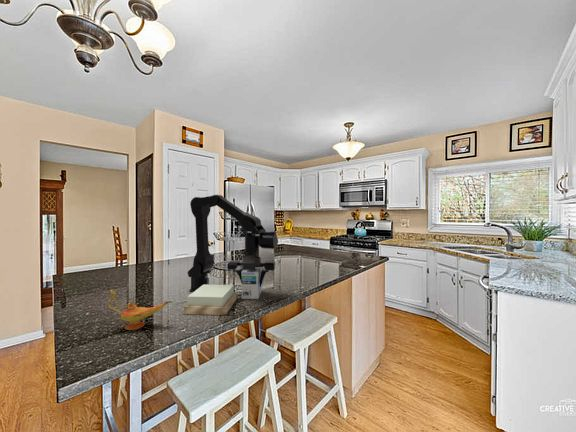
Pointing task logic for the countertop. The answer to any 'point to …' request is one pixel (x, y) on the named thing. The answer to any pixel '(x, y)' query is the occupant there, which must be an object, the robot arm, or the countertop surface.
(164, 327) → the countertop surface
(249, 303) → the countertop surface
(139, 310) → the magic lamp
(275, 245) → the robot arm
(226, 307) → the oak base block
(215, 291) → the sage top block
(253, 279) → the light bulb box
